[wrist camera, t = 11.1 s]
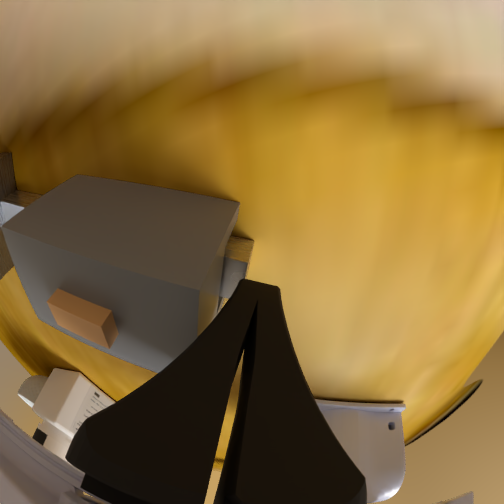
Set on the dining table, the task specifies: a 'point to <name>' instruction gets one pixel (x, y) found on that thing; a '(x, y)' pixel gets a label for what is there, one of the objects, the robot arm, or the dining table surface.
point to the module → (123, 264)
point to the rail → (13, 201)
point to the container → (66, 408)
